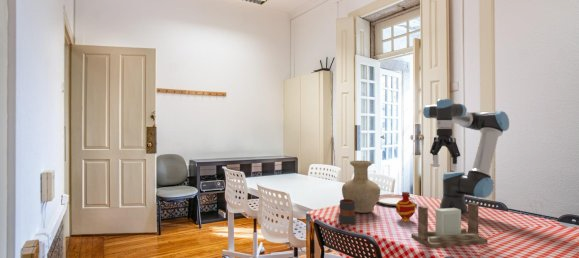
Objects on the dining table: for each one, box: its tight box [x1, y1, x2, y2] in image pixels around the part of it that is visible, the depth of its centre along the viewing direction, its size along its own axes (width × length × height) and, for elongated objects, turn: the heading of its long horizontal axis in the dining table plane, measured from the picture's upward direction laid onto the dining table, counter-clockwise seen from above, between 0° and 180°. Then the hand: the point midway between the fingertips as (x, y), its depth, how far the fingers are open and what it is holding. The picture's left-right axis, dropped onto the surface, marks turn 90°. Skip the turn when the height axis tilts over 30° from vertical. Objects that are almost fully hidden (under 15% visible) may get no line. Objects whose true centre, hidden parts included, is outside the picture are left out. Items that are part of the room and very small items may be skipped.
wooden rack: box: [411, 202, 488, 249], centre depth 145 cm, size 28×14×16 cm, turn 103°
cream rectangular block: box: [434, 208, 462, 236], centre depth 145 cm, size 10×4×12 cm, turn 103°
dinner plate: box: [377, 193, 417, 207], centre depth 217 cm, size 27×27×3 cm
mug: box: [338, 198, 356, 226], centre depth 173 cm, size 9×12×12 cm
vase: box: [341, 160, 381, 214], centre depth 194 cm, size 22×22×30 cm
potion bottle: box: [395, 191, 417, 222], centre depth 176 cm, size 10×10×15 cm
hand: (444, 168), depth 171 cm, fingers open, 13 cm apart
